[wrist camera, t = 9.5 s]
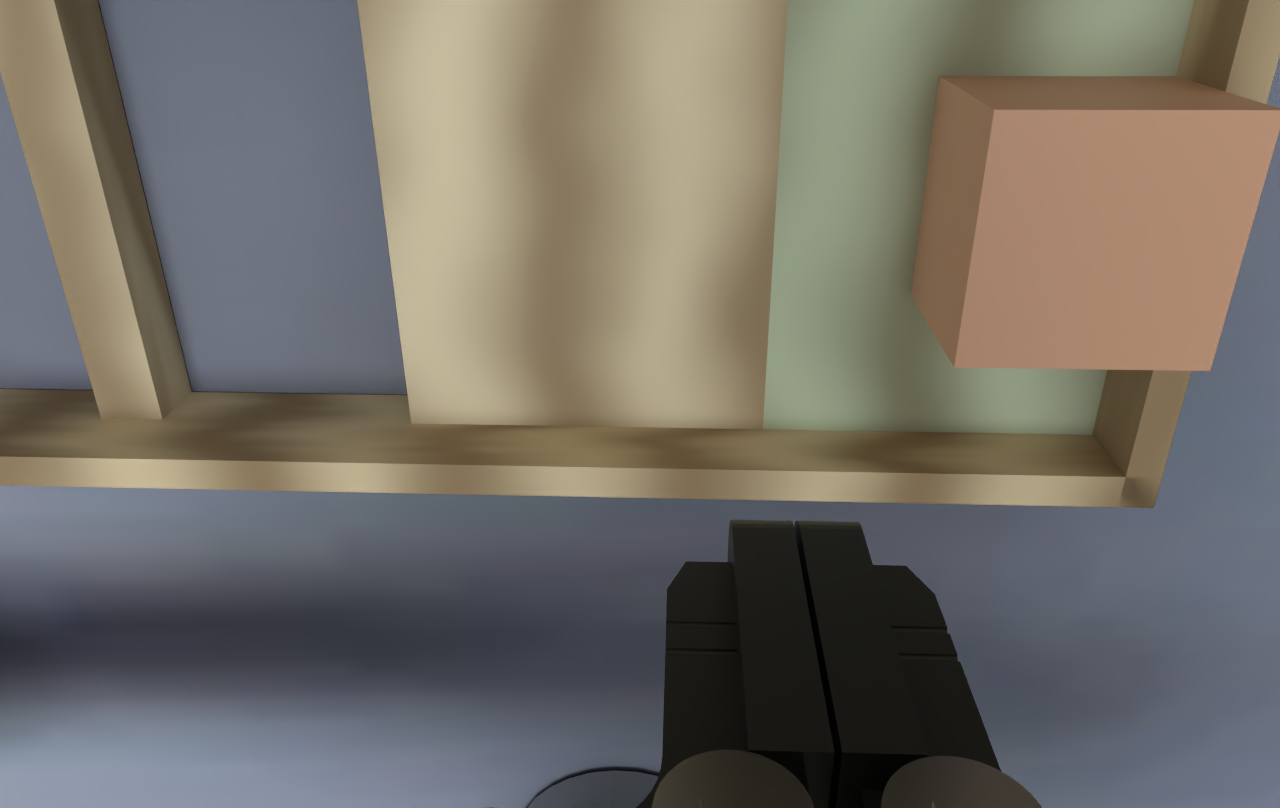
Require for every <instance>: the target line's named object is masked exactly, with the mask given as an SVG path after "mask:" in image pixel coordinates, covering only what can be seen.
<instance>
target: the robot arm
mask: <svg viewBox="0 0 1280 808" xmlns="http://www.w3.org/2000/svg"><path fill="white" fill-rule="evenodd" d="M528 808H1042V807H1041V805H1040V804H1039V803H1038V802H1037V800H1036V799H1035V798H1034V797H1033V796H1032V794H1031V793H1030V792H1028V791H1027V790H1026V789H1025V788H1024V787H1023V786H1022V785H1021V784H1020V783H1018V782H1017V781H1015V780H1014V779H1013V778H1011V777H1010V776H1008V775H1007V774H1005V773H1003V772H1002V771H1001V769H1000V767H999V765H998V762H997V759H996V757H995V754H994V751H993V749H992V746H991V743H990V741H989V738H988V735H987V732H986V730H985V727H984V724H983V722H982V719H981V716H980V714H979V711H978V708H977V706H976V703H975V700H974V698H973V695H972V692H971V690H970V687H969V684H968V682H967V679H966V676H965V674H964V671H963V668H962V666H961V663H960V662H958V661H957V652H956V650H955V647H954V644H953V642H952V639H951V636H950V634H947V626H946V623H945V620H944V618H943V615H942V612H941V610H940V607H939V604H938V602H937V599H936V596H935V594H934V593H933V592H932V591H931V590H930V589H929V588H928V587H927V586H926V585H925V584H924V583H923V582H922V581H921V580H920V579H919V578H918V577H917V576H916V575H915V574H914V573H913V572H912V571H911V570H910V569H909V568H908V567H907V566H889V565H873V564H872V561H871V558H870V554H869V551H868V547H867V544H866V541H865V537H864V534H863V530H862V527H861V525H860V523H859V522H830V521H796V522H795V525H794V526H793V522H792V521H765V520H730V526H729V543H728V562H685V564H684V565H683V567H682V568H681V570H680V571H679V573H678V574H677V575H676V577H675V578H674V580H673V581H672V583H671V584H670V586H669V587H668V589H667V618H666V655H665V688H664V723H663V757H662V765H661V770H660V773H659V776H654V775H650V774H645V773H640V772H631V771H603V772H592V773H587V774H583V775H580V776H576V777H572V778H569V779H566V780H564V781H562V782H560V783H558V784H556V785H554V786H551V787H550V788H548V789H547V790H546V791H544V792H543V793H542V794H540V795H539V796H538V797H536V798H535V799H534V800H533V802H532V803H531V804H530V805H529V806H528Z"/></svg>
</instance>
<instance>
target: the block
mask: <svg viewBox="0 0 1280 808" xmlns="http://www.w3.org/2000/svg"><path fill="white" fill-rule="evenodd" d="M1279 131H1280V108H1276V107H1273V106H1270V105H1267V104H1264V103H1260V102H1257V101H1254V100H1251V99H1248V98H1244V97H1241V96H1238V95H1235V94H1232V93H1228V92H1225V91H1222V90H1219V89H1216V88H1213V87H1209V86H1206V85H1203V84H1200V83H1197V82H1193V81H1190V80H1187V79H1184V78H1181V77H1177V76H939V81H938V89H937V97H936V104H935V112H934V120H933V128H932V135H931V143H930V151H929V159H928V167H927V174H926V182H925V190H924V198H923V205H922V213H921V221H920V229H919V237H918V244H917V252H916V260H915V268H914V275H913V283H912V291H911V296H912V298H913V300H914V301H915V303H916V305H917V306H918V308H919V310H920V311H921V313H922V315H923V316H924V318H925V320H926V321H927V323H928V325H929V326H930V328H931V330H932V331H933V333H934V335H935V336H936V338H937V340H938V341H939V343H940V345H941V346H942V348H943V350H944V351H945V353H946V355H947V356H948V358H949V360H950V361H951V363H952V365H953V366H954V368H1025V369H1099V370H1173V371H1210V370H1211V367H1212V363H1213V360H1214V356H1215V353H1216V349H1217V346H1218V342H1219V339H1220V335H1221V332H1222V328H1223V325H1224V321H1225V318H1226V315H1227V311H1228V308H1229V304H1230V301H1231V297H1232V294H1233V290H1234V287H1235V283H1236V280H1237V276H1238V273H1239V269H1240V266H1241V262H1242V259H1243V256H1244V252H1245V249H1246V245H1247V242H1248V238H1249V235H1250V231H1251V228H1252V224H1253V221H1254V217H1255V214H1256V210H1257V207H1258V203H1259V200H1260V197H1261V193H1262V190H1263V186H1264V183H1265V179H1266V176H1267V172H1268V169H1269V165H1270V162H1271V158H1272V155H1273V151H1274V148H1275V144H1276V141H1277V138H1278V134H1279Z"/></svg>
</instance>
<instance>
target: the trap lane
mask: <svg viewBox="0 0 1280 808" xmlns="http://www.w3.org/2000/svg"><path fill="white" fill-rule="evenodd" d="M357 2H358V10H359V18H360V26H361V34H362V42H363V49H364V57H365V65H366V73H367V81H368V89H369V96H370V104H371V112H372V120H373V128H374V136H375V143H376V151H377V159H378V167H379V175H380V183H381V190H382V198H383V206H384V214H385V222H386V230H387V237H388V245H389V253H390V261H391V269H392V277H393V284H394V292H395V300H396V308H397V316H398V324H399V331H400V339H401V347H402V355H403V363H404V371H405V378H406V386H407V394H408V395H361V394H295V393H229V392H192V391H191V387H190V383H189V379H188V374H187V370H186V366H185V362H184V358H183V354H182V350H181V345H180V341H179V337H178V333H177V329H176V325H175V320H174V316H173V312H172V308H171V304H170V300H169V295H168V291H167V287H166V283H165V279H164V275H163V270H162V266H161V262H160V258H159V254H158V250H157V245H156V241H155V237H154V233H153V229H152V225H151V220H150V216H149V212H148V208H147V204H146V200H145V195H144V191H143V187H142V183H141V179H140V175H139V170H138V166H137V162H136V158H135V154H134V150H133V145H132V141H131V137H130V133H129V129H128V125H127V120H126V116H125V112H124V108H123V104H122V100H121V96H120V91H119V87H118V83H117V79H116V75H115V71H114V66H113V62H112V58H111V54H110V50H109V46H108V41H107V37H106V33H105V29H104V25H103V21H102V16H101V12H100V8H99V4H98V0H0V73H1V76H2V80H3V83H4V87H5V90H6V93H7V97H8V100H9V104H10V107H11V111H12V114H13V117H14V121H15V124H16V128H17V131H18V135H19V138H20V142H21V145H22V148H23V152H24V155H25V159H26V162H27V166H28V169H29V172H30V176H31V179H32V183H33V186H34V190H35V193H36V196H37V200H38V203H39V207H40V210H41V214H42V217H43V220H44V224H45V227H46V231H47V234H48V238H49V241H50V244H51V248H52V251H53V255H54V258H55V262H56V265H57V268H58V272H59V275H60V279H61V282H62V286H63V289H64V293H65V296H66V299H67V303H68V306H69V310H70V313H71V317H72V320H73V323H74V327H75V330H76V334H77V337H78V341H79V344H80V347H81V351H82V354H83V358H84V361H85V365H86V368H87V371H88V375H89V378H90V382H91V385H92V389H93V390H32V389H0V485H16V486H67V487H118V488H169V489H220V490H271V491H322V492H372V493H423V494H474V495H525V496H576V497H627V498H678V499H729V500H780V501H830V502H881V503H932V504H983V505H1034V506H1085V507H1136V508H1154V505H1155V501H1156V498H1157V494H1158V490H1159V487H1160V483H1161V480H1162V476H1163V473H1164V469H1165V465H1166V462H1167V458H1168V455H1169V451H1170V447H1171V444H1172V440H1173V437H1174V433H1175V429H1176V426H1177V422H1178V419H1179V415H1180V412H1181V408H1182V404H1183V401H1184V397H1185V394H1186V390H1187V386H1188V383H1189V379H1190V376H1191V372H1192V371H1173V370H1099V369H1025V368H954V366H953V365H952V363H951V361H950V360H949V358H948V356H947V355H946V353H945V351H944V350H943V348H942V346H941V345H940V343H939V341H938V340H937V338H936V336H935V335H934V333H933V331H932V330H931V328H930V326H929V325H928V323H927V321H926V320H925V318H924V316H923V315H922V313H921V311H920V310H919V308H918V306H917V305H916V303H915V301H914V300H913V298H912V296H911V291H912V283H913V275H914V268H915V260H916V252H917V244H918V237H919V229H920V221H921V213H922V205H923V198H924V190H925V182H926V174H927V167H928V159H929V151H930V143H931V135H932V128H933V120H934V112H935V104H936V97H937V89H938V81H939V76H1177V77H1181V78H1184V79H1187V80H1190V81H1193V82H1197V83H1200V84H1203V85H1206V86H1209V87H1213V88H1216V89H1219V90H1222V91H1225V92H1228V93H1232V94H1235V95H1238V96H1241V97H1244V98H1248V99H1251V100H1254V101H1257V102H1260V103H1264V104H1266V103H1267V99H1268V96H1269V92H1270V89H1271V85H1272V81H1273V78H1274V74H1275V71H1276V67H1277V63H1278V60H1279V56H1280V0H357Z"/></svg>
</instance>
